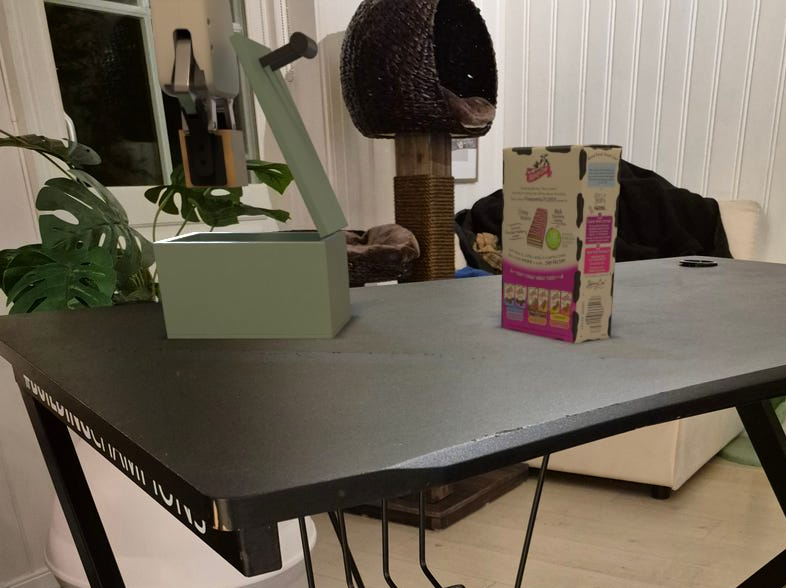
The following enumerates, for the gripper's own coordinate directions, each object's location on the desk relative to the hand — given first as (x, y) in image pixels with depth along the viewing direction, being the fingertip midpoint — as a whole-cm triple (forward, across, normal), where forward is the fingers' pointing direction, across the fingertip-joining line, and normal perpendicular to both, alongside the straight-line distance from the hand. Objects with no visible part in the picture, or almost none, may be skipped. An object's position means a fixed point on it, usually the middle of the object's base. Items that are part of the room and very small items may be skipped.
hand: (217, 182), depth 84 cm
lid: (-3, 0, +7) cm, 8 cm away
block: (0, 0, 0) cm, 0 cm away
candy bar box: (+14, +3, +32) cm, 35 cm away
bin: (+13, 0, +3) cm, 14 cm away
